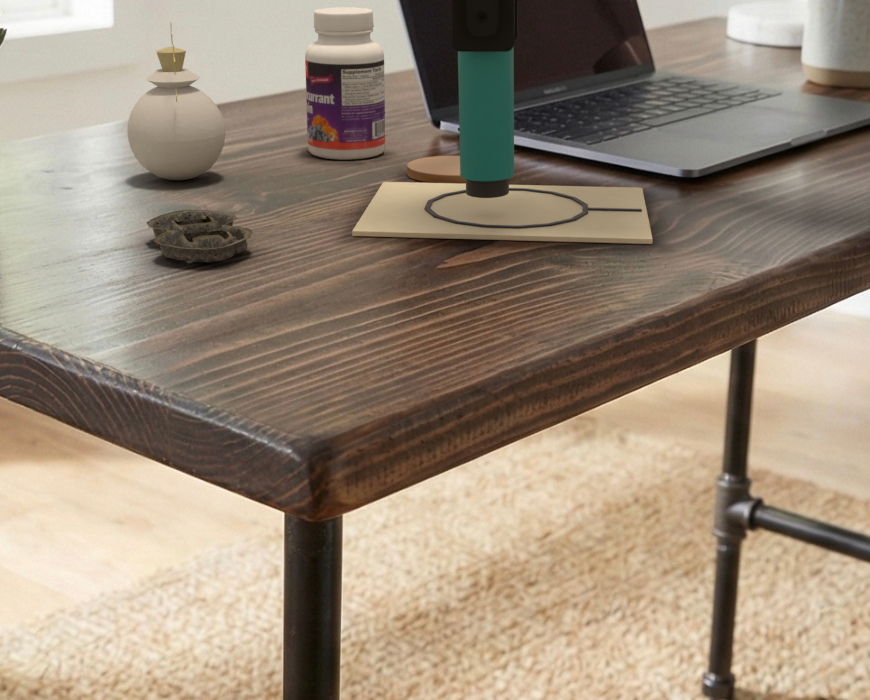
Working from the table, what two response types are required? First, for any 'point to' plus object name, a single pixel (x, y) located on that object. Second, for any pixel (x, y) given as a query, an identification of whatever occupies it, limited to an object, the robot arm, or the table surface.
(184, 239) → the corroded twin loop
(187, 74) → the ornament
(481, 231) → the yellow board
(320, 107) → the pill bottle
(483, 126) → the cylinder
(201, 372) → the table surface
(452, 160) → the coaster
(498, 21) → the robot arm
